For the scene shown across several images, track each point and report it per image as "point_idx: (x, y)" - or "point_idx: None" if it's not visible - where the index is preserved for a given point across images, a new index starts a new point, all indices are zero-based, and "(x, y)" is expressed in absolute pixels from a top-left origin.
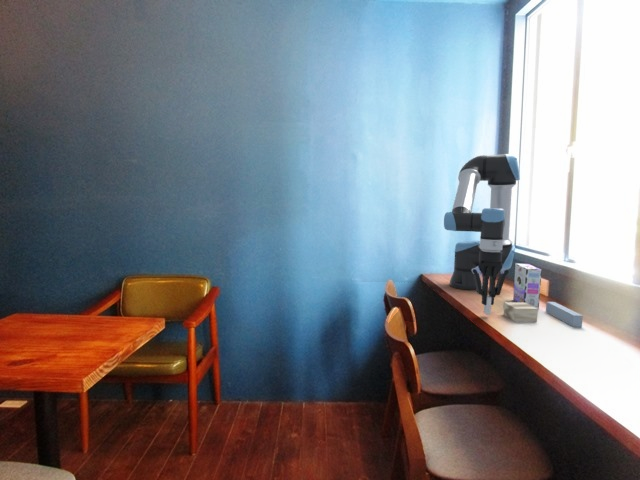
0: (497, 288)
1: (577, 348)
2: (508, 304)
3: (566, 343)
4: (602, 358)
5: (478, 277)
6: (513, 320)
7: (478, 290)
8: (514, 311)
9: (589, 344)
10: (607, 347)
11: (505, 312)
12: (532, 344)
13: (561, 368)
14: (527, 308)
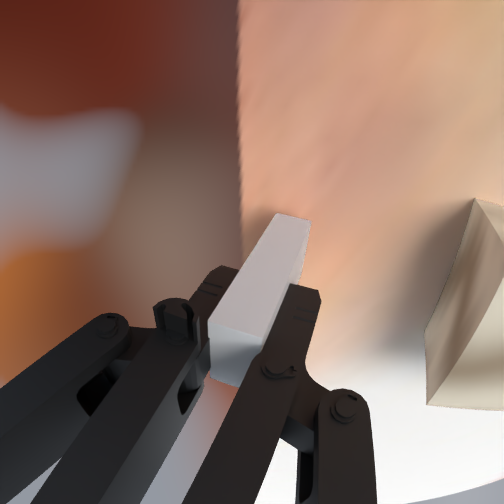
0: (299, 500)
1: (385, 478)
2: (481, 327)
3: (391, 468)
4: (382, 494)
5: (2, 493)
6: (429, 323)
7: (87, 387)
8: (431, 376)
9: (441, 473)
10: (459, 479)
11: (473, 239)
12: (289, 453)
13: (267, 485)
14: (502, 408)
